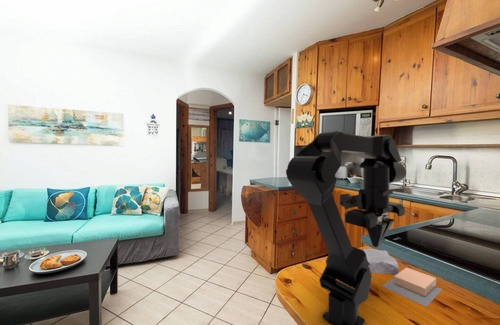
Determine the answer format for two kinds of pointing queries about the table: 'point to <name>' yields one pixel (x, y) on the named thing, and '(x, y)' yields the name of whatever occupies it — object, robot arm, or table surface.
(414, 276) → the tile
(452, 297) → the table surface
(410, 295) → the mat
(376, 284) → the table surface
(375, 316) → the table surface
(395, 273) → the stone block
